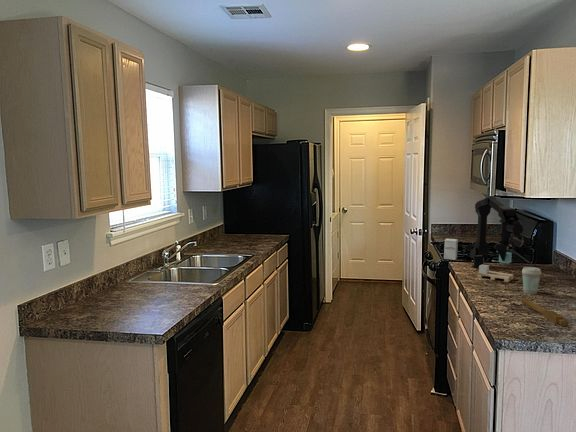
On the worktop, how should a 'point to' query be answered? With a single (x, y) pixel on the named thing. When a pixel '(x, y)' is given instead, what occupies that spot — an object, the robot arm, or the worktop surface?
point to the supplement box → (450, 249)
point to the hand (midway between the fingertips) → (504, 260)
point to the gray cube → (484, 269)
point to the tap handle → (546, 313)
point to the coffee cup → (531, 279)
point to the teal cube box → (506, 258)
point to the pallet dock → (497, 275)
